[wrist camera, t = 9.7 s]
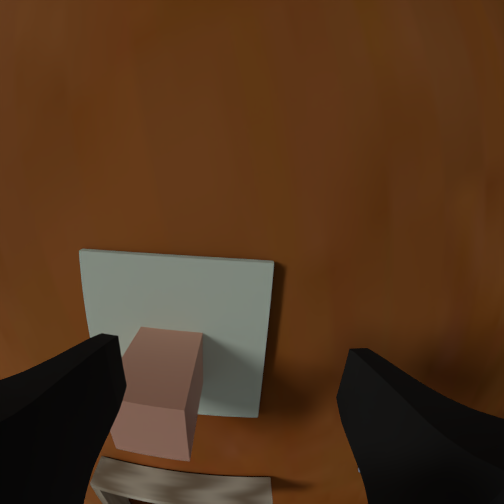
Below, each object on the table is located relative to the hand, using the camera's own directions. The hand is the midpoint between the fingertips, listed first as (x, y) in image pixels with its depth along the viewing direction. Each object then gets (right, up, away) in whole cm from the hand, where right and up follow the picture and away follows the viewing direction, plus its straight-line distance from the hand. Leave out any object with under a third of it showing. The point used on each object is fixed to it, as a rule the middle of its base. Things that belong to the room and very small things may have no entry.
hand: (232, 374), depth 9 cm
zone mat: (-5, -2, +10) cm, 11 cm away
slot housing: (-6, -23, +16) cm, 29 cm away
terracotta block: (-5, -3, +10) cm, 11 cm away
